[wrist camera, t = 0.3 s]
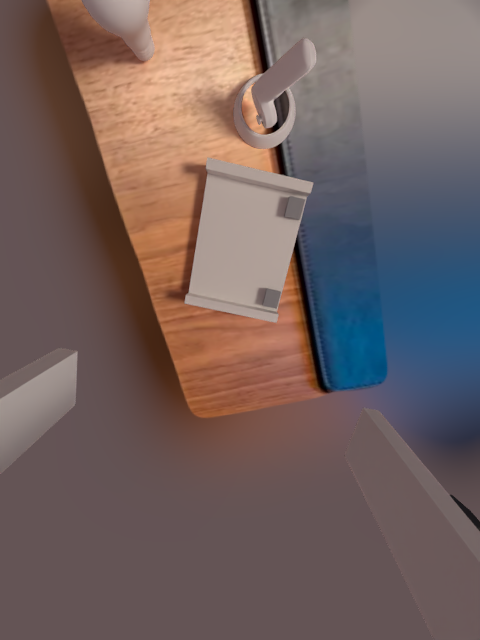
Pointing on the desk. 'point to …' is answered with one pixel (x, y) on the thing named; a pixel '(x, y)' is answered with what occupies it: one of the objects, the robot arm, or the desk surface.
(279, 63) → the hook
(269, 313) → the panel
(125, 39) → the lightbulb
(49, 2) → the desk surface
